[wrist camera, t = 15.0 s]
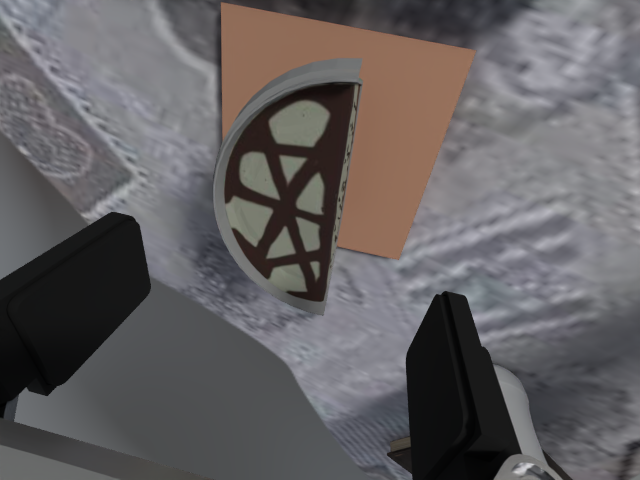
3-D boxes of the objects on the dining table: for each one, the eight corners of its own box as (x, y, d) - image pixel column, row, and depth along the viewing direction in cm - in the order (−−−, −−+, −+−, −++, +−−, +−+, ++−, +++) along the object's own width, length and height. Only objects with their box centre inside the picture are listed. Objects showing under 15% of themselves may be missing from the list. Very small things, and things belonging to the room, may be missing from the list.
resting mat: (471, 50, 19) (476, 50, 18) (397, 253, 27) (398, 259, 26) (227, 3, 19) (221, 2, 18) (228, 216, 27) (223, 221, 27)
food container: (266, 40, 19) (181, 39, 11) (367, 52, 19) (360, 61, 10) (266, 218, 26) (212, 302, 17) (340, 230, 25) (322, 322, 17)
